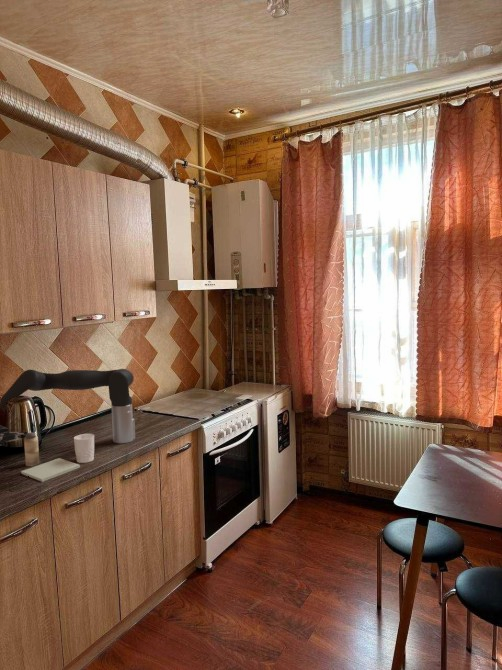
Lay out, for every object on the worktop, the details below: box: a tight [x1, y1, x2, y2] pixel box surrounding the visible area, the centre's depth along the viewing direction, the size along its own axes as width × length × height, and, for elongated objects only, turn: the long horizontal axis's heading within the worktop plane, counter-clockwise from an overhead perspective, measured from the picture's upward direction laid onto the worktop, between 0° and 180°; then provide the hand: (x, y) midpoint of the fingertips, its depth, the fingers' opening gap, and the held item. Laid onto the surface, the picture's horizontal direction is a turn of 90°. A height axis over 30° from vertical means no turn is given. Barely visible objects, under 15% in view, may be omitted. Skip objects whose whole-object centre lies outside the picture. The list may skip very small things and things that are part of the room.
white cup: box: [73, 433, 95, 464], centre depth 186 cm, size 8×8×10 cm
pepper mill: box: [23, 432, 40, 467], centre depth 182 cm, size 5×5×12 cm
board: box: [20, 457, 81, 483], centre depth 176 cm, size 16×14×1 cm
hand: (17, 441), depth 188 cm, fingers open, 8 cm apart
